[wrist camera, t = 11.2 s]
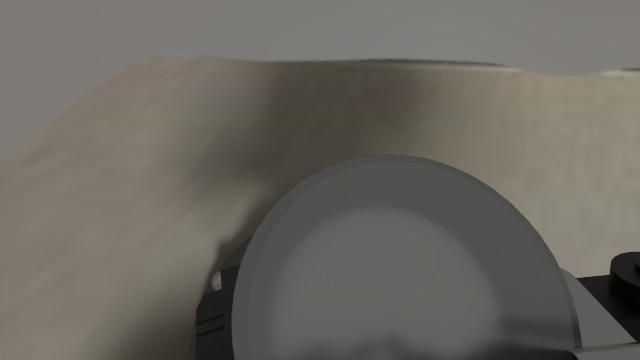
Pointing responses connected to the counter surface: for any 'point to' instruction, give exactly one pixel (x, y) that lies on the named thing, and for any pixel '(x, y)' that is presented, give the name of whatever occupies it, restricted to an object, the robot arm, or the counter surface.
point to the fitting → (399, 271)
